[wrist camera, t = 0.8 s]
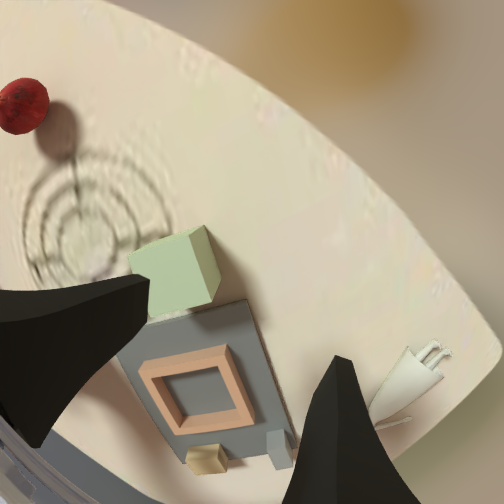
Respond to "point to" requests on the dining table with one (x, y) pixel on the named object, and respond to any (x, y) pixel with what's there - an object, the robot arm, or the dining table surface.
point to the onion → (23, 105)
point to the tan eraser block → (207, 459)
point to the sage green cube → (178, 271)
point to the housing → (210, 384)
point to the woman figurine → (406, 383)
